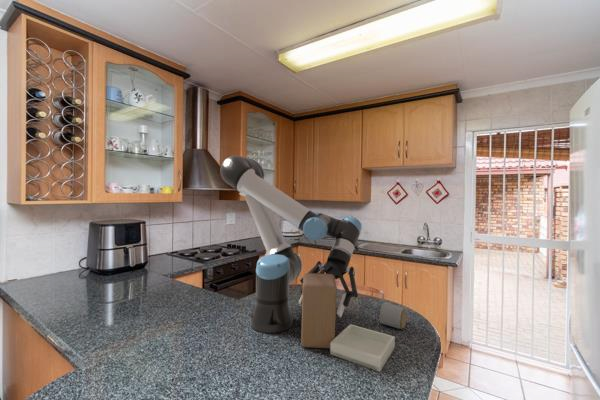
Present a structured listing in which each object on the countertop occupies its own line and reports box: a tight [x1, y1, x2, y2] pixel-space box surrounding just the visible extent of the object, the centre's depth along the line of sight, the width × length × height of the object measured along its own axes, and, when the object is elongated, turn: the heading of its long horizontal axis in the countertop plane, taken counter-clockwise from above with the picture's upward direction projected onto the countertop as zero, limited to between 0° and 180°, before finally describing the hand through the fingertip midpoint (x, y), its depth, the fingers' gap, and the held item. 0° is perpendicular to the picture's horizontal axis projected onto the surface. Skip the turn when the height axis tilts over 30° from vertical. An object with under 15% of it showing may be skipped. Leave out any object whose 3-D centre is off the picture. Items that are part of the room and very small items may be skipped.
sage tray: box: [329, 323, 396, 372], centre depth 86 cm, size 15×15×4 cm
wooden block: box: [300, 272, 338, 349], centre depth 89 cm, size 10×10×20 cm
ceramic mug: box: [378, 301, 408, 330], centre depth 104 cm, size 11×8×8 cm
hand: (318, 309), depth 90 cm, fingers open, 13 cm apart
